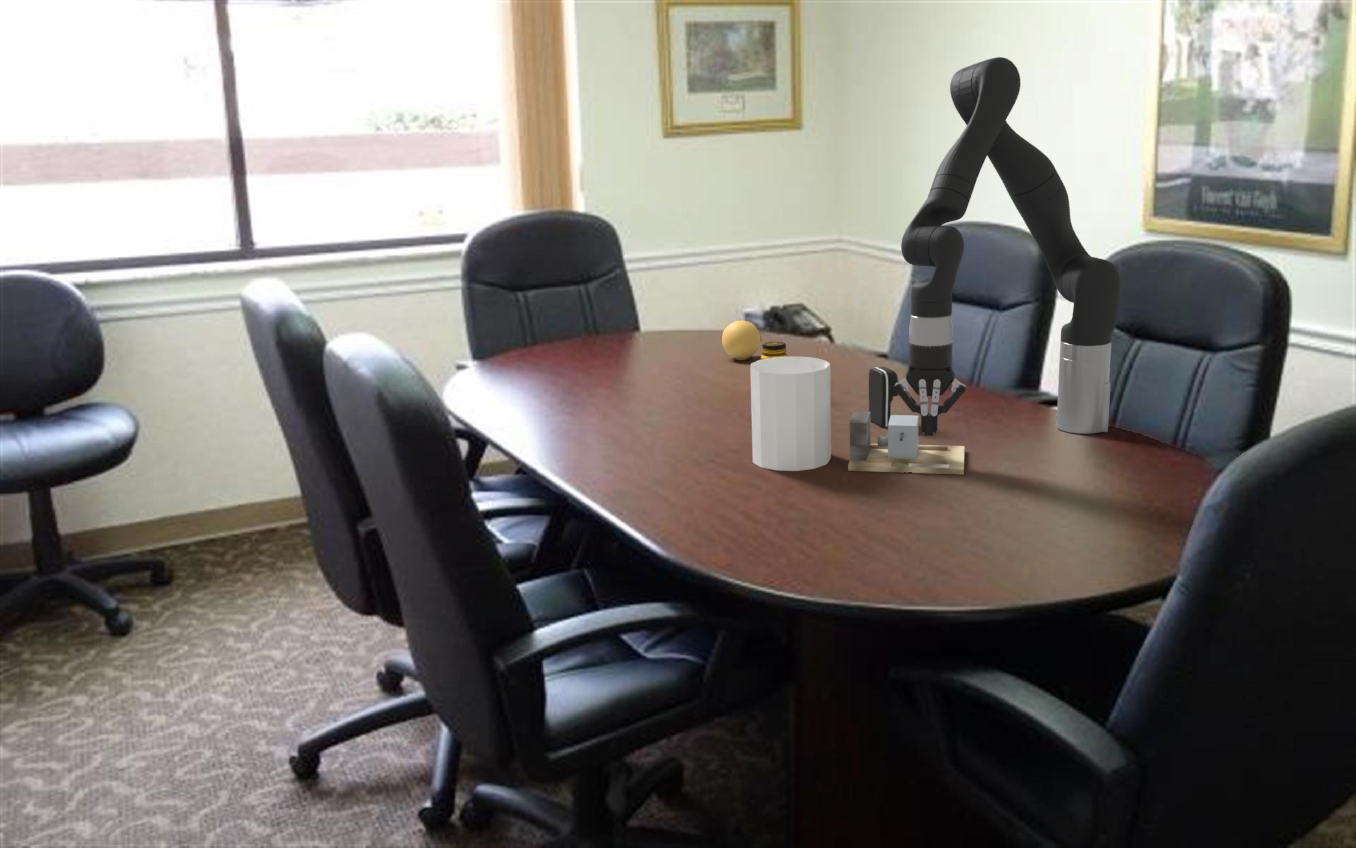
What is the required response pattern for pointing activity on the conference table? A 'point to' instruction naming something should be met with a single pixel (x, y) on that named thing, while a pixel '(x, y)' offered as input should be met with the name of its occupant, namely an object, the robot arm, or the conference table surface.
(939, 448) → the wooden sliding jig
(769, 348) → the condiment
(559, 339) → the conference table surface
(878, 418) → the battery charger
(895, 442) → the block
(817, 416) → the container
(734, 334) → the stress ball
